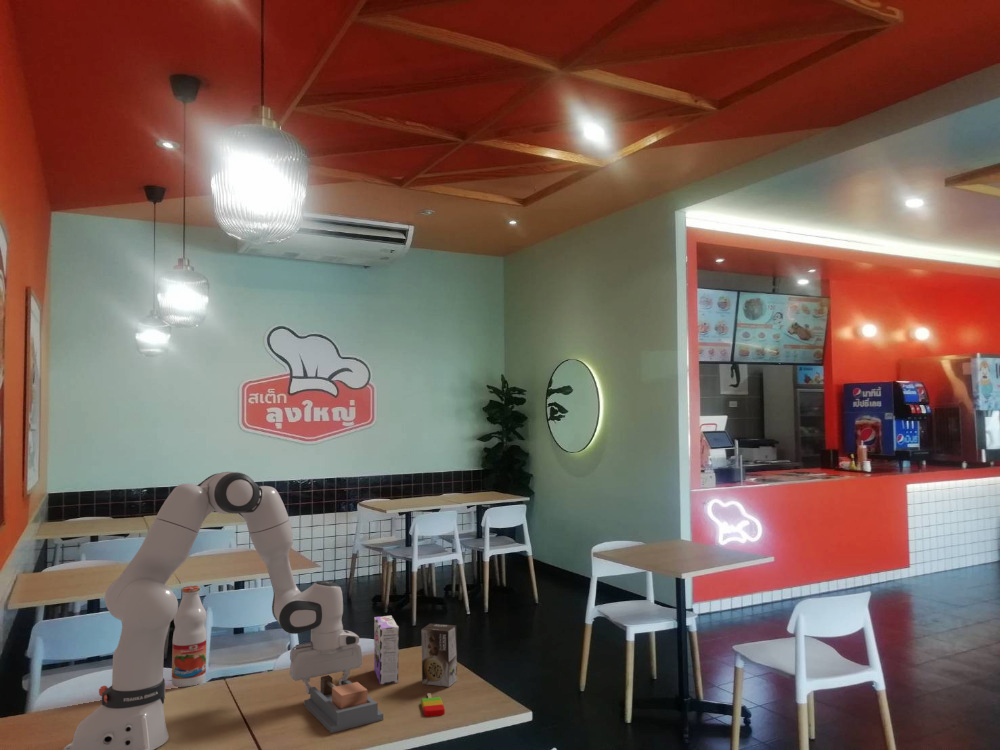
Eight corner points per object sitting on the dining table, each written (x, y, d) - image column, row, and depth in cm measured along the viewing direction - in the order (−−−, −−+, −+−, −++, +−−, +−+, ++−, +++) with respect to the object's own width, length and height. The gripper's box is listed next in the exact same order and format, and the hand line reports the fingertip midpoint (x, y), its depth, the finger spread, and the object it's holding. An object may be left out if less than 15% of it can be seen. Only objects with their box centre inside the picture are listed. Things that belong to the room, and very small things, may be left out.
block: (341, 724, 175) (341, 695, 176) (312, 696, 194) (312, 670, 195) (367, 718, 179) (367, 689, 180) (336, 691, 198) (336, 665, 199)
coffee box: (457, 680, 207) (457, 625, 209) (449, 687, 201) (448, 630, 203) (430, 676, 211) (430, 622, 212) (420, 684, 205) (420, 628, 206)
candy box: (373, 669, 217) (373, 616, 219) (392, 667, 219) (392, 614, 220) (379, 685, 204) (379, 628, 205) (399, 682, 206) (399, 626, 207)
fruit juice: (203, 674, 215) (205, 582, 217) (207, 683, 207) (210, 588, 209) (169, 680, 210) (172, 586, 212) (173, 689, 202) (175, 592, 204)
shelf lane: (331, 733, 172) (331, 714, 172) (304, 705, 189) (304, 688, 189) (383, 719, 179) (383, 701, 180) (353, 694, 197) (353, 678, 197)
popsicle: (424, 718, 181) (424, 711, 181) (419, 697, 195) (419, 690, 196) (445, 716, 182) (445, 709, 182) (438, 696, 197) (438, 689, 197)
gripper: (293, 648, 188) (292, 701, 187) (364, 636, 199) (364, 685, 198) (286, 643, 193) (286, 694, 192) (356, 630, 204) (355, 679, 203)
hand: (326, 689), depth 195 cm, fingers open, 8 cm apart
